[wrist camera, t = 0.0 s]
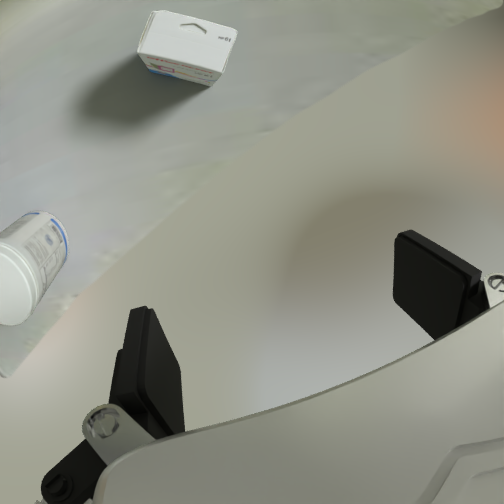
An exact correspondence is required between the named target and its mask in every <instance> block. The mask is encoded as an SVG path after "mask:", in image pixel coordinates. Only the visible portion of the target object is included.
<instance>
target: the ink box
mask: <svg viewBox="0 0 504 504" xmlns="http://www.w3.org/2000/svg"><path fill="white" fill-rule="evenodd" d="M237 33H238V32H237V30H235V29H233V28H230V27H226V26H223V25H219V24H216V23H212V22H209V21H205V20H201V19H198V18H194V17H190V16H186V15H181V14H177V13H172V12H168V11H164V10H160V11H152V12H151V14H150V16H149V18H148V21H147V23H146V26H145V28H144V31H143V34H142V36H141V39H140V43H139V46H138V49H137V53H138V54H139V56H140V57H141V59H142V60H143V62H144V63H145V65H146V66H147V68H148V69H149V71H150V72H153V73H157V74H162V75H167V76H171V77H175V78H180V79H184V80H188V81H192V82H196V83H200V84H203V85H207V86H210V87H211V86H213V85H214V83H215V82H216V81H217V80H218V79H219V77H220V76H221V75H222V74H223V72H224V69H225V66H226V63H227V61H228V58H229V55H230V52H231V50H232V47H233V44H234V42H235V39H236V36H237Z"/></svg>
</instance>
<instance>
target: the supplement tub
mask: <svg viewBox="0 0 504 504" xmlns="http://www.w3.org/2000/svg"><path fill="white" fill-rule="evenodd" d="M68 253H69V240H68V236H67V233H66V231H65V229H64V227H63V225H62V224H61V223H60V221H59V220H58V219H57V218H55V217H54V216H53V215H51V214H49V213H47V212H43V211H33V212H29V213H27V214H25V215H24V216H22V217H21V218H20V219H18V220H17V221H16V222H14V223H13V224H11V225H10V226H9V227H7V228H6V229H5V230H3V231H2V232H1V233H0V324H3V325H7V326H15V325H19V324H21V323H23V322H24V321H26V320H27V318H28V317H29V316H30V315H31V314H32V312H33V311H34V309H35V308H36V306H37V305H38V303H39V302H40V300H41V298H42V297H43V295H44V294H45V292H46V290H47V289H48V287H49V286H50V284H51V283H52V281H53V280H54V278H55V277H56V275H57V274H58V272H59V271H60V269H61V268H62V266H63V265H64V263H65V261H66V259H67V257H68Z"/></svg>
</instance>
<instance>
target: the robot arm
mask: <svg viewBox="0 0 504 504" xmlns="http://www.w3.org/2000/svg"><path fill="white" fill-rule="evenodd" d="M481 273H482V271H480V270H479V269H477V268H476V267H474V266H473V265H471V264H469V263H468V262H466V261H465V260H463V259H461V258H459V257H458V256H456V255H455V254H453V253H451V252H450V251H448V250H446V249H445V248H443V247H441V246H440V245H438V244H436V243H435V242H433V241H431V240H429V239H428V238H426V237H424V236H422V235H421V234H419V233H417V232H415V231H413V230H408V231H404V232H401V233H399V234H398V235H397V238H396V239H395V243H394V280H393V299H394V301H395V303H396V304H397V305H398V306H400V307H401V308H402V309H403V310H404V311H405V312H406V313H407V314H408V315H409V316H410V317H411V318H412V319H413V320H414V321H415V322H416V323H417V324H419V325H420V326H421V327H422V328H423V329H424V330H425V331H426V332H427V333H428V334H429V335H430V336H431V337H432V338H433V339H434V341H433V342H431V343H429V344H427V345H425V346H423V347H421V348H420V349H417V350H415V351H414V352H411V353H409V354H408V355H405V356H403V357H401V358H399V359H397V360H395V361H393V362H391V363H389V364H386V365H384V366H382V367H380V368H378V369H376V370H373V371H371V372H369V373H366V374H364V375H362V376H360V377H357V378H355V379H352V380H350V381H347V382H345V383H342V384H340V385H337V386H335V387H332V388H329V389H327V390H324V391H322V392H319V393H317V394H313V395H311V396H308V397H305V398H302V399H299V400H296V401H293V402H290V403H287V404H285V405H281V406H278V407H275V408H272V409H269V410H265V411H262V412H258V413H255V414H251V415H248V416H244V417H241V418H237V419H234V420H230V421H226V422H223V423H219V424H214V425H211V426H206V427H202V428H198V429H195V430H191V431H187V432H185V425H184V413H183V401H182V386H181V371H180V367H179V364H178V361H177V360H176V357H175V355H174V353H173V351H172V349H171V347H170V345H169V343H168V341H167V338H166V336H165V334H164V332H163V330H162V327H161V325H160V323H159V320H158V318H157V316H156V314H155V312H154V310H153V309H148V308H147V306H142V307H139V308H135V309H131V310H130V314H129V319H128V323H127V328H126V333H125V339H124V344H123V349H120V350H119V351H118V353H117V357H116V362H115V368H114V373H113V378H112V384H111V391H110V397H109V403H108V404H103V405H100V406H97V407H96V408H94V409H93V410H91V411H90V412H89V413H88V414H87V416H86V417H85V419H84V421H83V425H82V432H83V434H84V436H85V438H86V439H85V440H84V441H82V442H81V443H80V444H79V445H78V446H77V447H76V448H75V449H73V450H72V451H71V452H70V453H69V454H68V455H67V456H66V457H64V458H63V459H62V460H61V461H60V462H59V463H58V464H57V465H56V466H55V467H53V468H52V469H51V470H50V471H49V472H48V473H47V474H46V475H45V476H44V478H43V480H42V484H41V493H42V496H43V499H42V501H41V502H39V501H38V500H37V501H36V503H35V504H504V274H502V273H491V274H488V275H487V276H485V278H484V281H481V280H480V278H481Z"/></svg>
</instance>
